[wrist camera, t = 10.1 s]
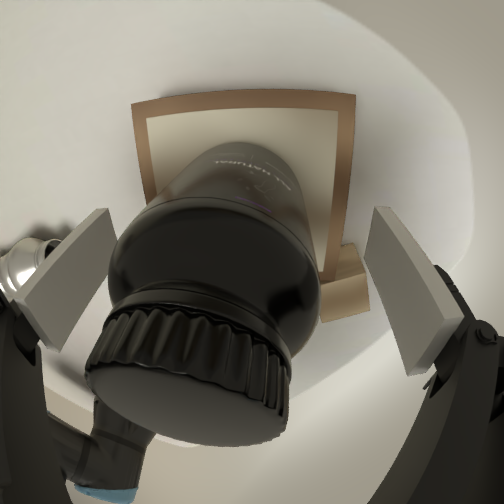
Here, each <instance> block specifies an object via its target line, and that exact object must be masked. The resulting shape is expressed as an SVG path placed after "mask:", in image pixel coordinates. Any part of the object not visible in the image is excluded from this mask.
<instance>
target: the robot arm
mask: <svg viewBox="0 0 504 504" xmlns="http://www.w3.org/2000/svg"><path fill="white" fill-rule="evenodd" d="M116 243H117V238H116V234H115V231H114V228H113V224H112V221H111V217H110V213H109V210H108V208H102V209H96V210H95V211H94V212H92V213H91V214H90V215H89V216H88V217H87V218H86V219H85V220H84V221H83V222H82V223H81V224H79V225H78V226H77V227H76V228H75V229H74V230H73V231H72V232H71V233H70V234H69V235H68V236H67V237H66V238H65V239H64V240H63V241H62V242H61V243H60V244H59V245H58V246H57V247H56V248H55V249H54V250H53V251H52V252H51V253H50V255H49V256H48V257H47V258H46V259H45V260H44V261H43V262H42V263H41V264H40V265H39V267H38V268H37V269H36V270H35V271H34V272H33V273H32V274H31V276H30V277H29V278H28V279H27V280H26V282H25V283H24V284H23V285H22V286H21V288H20V289H19V290H18V291H17V293H16V294H15V295H14V296H13V299H12V301H11V302H10V303H9V302H8V300H7V298H6V297H5V295H4V293H3V291H2V290H1V288H0V504H73V503H72V501H71V499H70V496H69V494H68V491H67V488H66V485H65V483H66V479H67V480H70V481H72V482H74V483H75V484H74V486H75V489H76V490H77V491H79V492H81V493H83V494H86V495H89V496H92V497H94V498H97V499H100V500H104V501H108V502H112V503H118V504H130V503H132V502H133V501H134V498H135V495H136V491H137V489H138V483H139V479H140V474H141V470H142V465H143V461H144V456H145V452H146V448H147V446H148V445H149V443H150V442H151V440H152V439H153V437H154V436H155V435H156V433H155V432H153V431H150V430H147V429H145V428H143V427H141V426H139V425H136V424H134V423H132V422H131V421H129V420H127V419H125V418H124V417H122V416H120V415H119V414H118V413H116V412H115V411H113V410H111V409H110V408H109V407H108V406H107V405H106V404H104V403H103V402H102V401H100V400H99V398H98V397H97V396H96V395H95V398H94V424H93V428H92V431H91V434H90V436H89V435H87V434H85V433H84V432H82V431H80V430H78V429H76V428H75V427H73V426H71V425H69V424H68V423H66V422H64V421H63V420H61V419H59V418H58V417H56V416H55V415H53V414H52V413H50V411H48V410H47V408H46V401H45V395H44V385H43V374H42V358H41V349H40V347H39V346H38V344H37V343H38V341H39V340H40V339H41V341H42V342H43V343H44V345H45V346H46V347H47V349H50V350H53V351H56V352H59V353H60V351H61V349H62V347H63V345H64V344H65V342H66V340H67V338H68V337H69V335H70V333H71V331H72V330H73V328H74V326H75V325H76V323H77V321H78V320H79V318H80V316H81V315H82V313H83V312H84V310H85V308H86V307H87V305H88V304H89V302H90V301H91V299H92V297H93V296H94V294H95V293H96V291H97V290H98V288H99V287H100V285H101V284H102V282H103V281H104V279H105V278H106V276H107V275H108V269H109V263H110V258H111V255H112V252H113V250H114V247H115V245H116ZM364 259H365V262H366V264H367V266H368V269H369V271H370V273H371V276H372V278H373V281H374V283H375V285H376V288H377V290H378V293H379V295H380V298H381V300H382V303H383V306H384V308H385V311H386V314H387V316H388V319H389V322H390V325H391V327H392V330H393V333H394V336H395V339H396V341H397V345H398V348H399V351H400V354H401V357H402V360H403V364H404V367H405V370H406V374H407V376H412V375H417V374H423V373H426V372H427V371H428V369H429V368H430V367H431V365H432V364H433V363H434V364H435V367H436V370H437V371H436V372H435V374H434V375H433V376H432V377H431V378H430V380H429V381H428V382H427V383H426V384H425V386H424V387H423V389H424V390H425V389H426V388H427V387H428V386H429V388H428V390H427V393H426V396H425V398H424V401H423V403H422V406H421V408H420V411H419V413H418V415H417V417H416V420H415V422H414V424H413V426H412V429H411V431H410V433H409V435H408V437H407V439H406V441H405V443H404V445H403V447H402V448H401V450H400V452H399V454H398V456H397V458H396V460H395V461H394V463H393V465H392V467H391V468H390V470H389V472H388V473H387V475H386V476H385V478H384V480H383V481H382V483H381V484H380V486H379V488H378V489H377V490H376V492H375V494H374V495H373V496H372V498H371V499H370V501H369V502H368V503H367V504H504V337H502V336H498V334H497V332H496V330H495V329H494V328H493V327H492V326H491V325H490V324H489V323H487V322H486V321H482V320H476V319H475V317H474V315H473V313H472V312H471V310H470V308H469V306H468V305H467V303H466V302H465V300H464V298H463V297H462V295H461V293H459V290H458V289H457V287H456V286H455V285H454V283H453V281H452V280H451V278H450V276H449V275H448V273H446V272H445V271H444V270H443V269H442V268H441V267H439V266H438V265H433V264H432V263H431V261H430V260H429V259H428V257H427V256H426V254H425V253H424V251H423V250H422V249H421V247H420V246H419V244H418V243H417V242H416V240H415V239H414V238H413V236H412V235H411V234H410V232H409V231H408V230H407V228H406V227H405V226H404V225H403V223H402V222H401V221H400V220H399V218H398V217H397V216H396V215H395V213H394V212H393V211H392V210H391V208H390V207H376V206H374V212H373V217H372V223H371V228H370V233H369V238H368V242H367V247H366V251H365V256H364Z"/></svg>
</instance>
